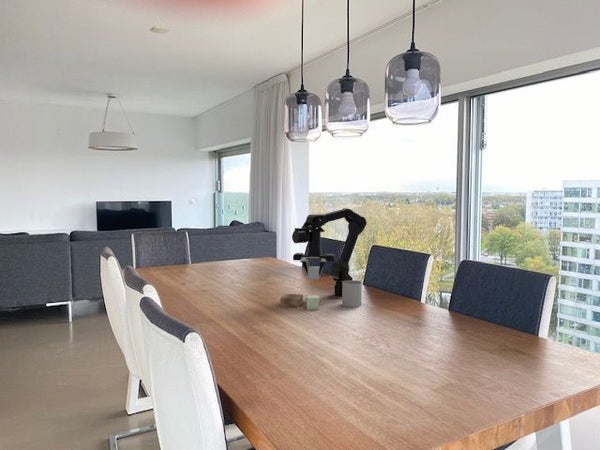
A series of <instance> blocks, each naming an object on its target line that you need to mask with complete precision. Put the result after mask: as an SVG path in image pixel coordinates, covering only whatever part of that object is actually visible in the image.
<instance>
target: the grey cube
mask: <svg viewBox="0 0 600 450" xmlns="http://www.w3.org/2000/svg"><path fill="white" fill-rule="evenodd" d="M308 266H309V267H308V275H307V279H308V280H319V279H320V278H321V275H320V276H319V269H320V266H317V265H316V266H315V265H314V266H313V265H312V266H311V265H308Z"/></svg>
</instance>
